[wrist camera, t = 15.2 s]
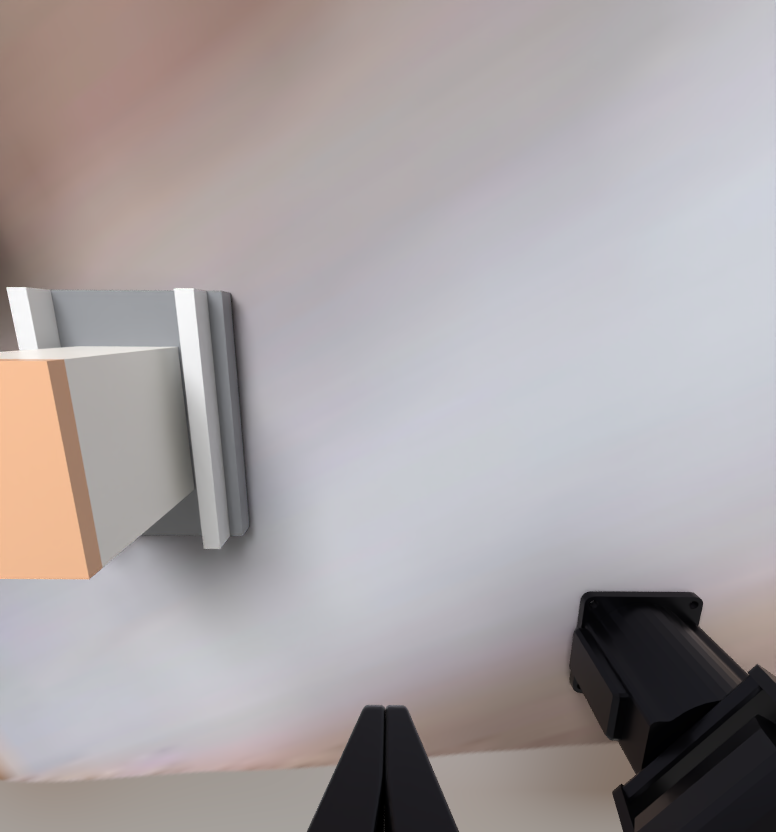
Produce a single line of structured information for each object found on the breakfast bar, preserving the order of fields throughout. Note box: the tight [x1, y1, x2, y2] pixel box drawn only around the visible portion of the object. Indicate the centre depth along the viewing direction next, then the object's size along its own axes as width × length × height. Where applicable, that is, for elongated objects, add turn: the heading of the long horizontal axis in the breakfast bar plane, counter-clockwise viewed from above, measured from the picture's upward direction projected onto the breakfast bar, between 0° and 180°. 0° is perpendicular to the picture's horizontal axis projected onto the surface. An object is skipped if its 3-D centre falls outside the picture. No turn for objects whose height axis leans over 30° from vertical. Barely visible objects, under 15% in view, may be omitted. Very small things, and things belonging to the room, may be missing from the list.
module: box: [0, 346, 194, 579], centre depth 15 cm, size 4×7×7 cm, turn 0°
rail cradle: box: [6, 287, 250, 549], centre depth 18 cm, size 9×12×2 cm
